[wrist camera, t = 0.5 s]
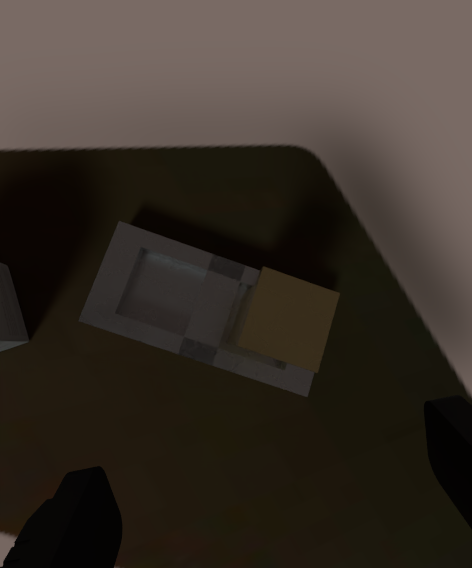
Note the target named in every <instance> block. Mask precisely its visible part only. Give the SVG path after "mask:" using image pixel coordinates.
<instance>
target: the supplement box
mask: <svg viewBox="0 0 472 568" xmlns="http://www.w3.org/2000/svg"><path fill="white" fill-rule="evenodd" d="M27 342H29V338H28V334H27V331H26V327H25V323H24V320H23V317H22V313H21V309H20V306H19V302H18V299H17V295H16V292H15V288H14V285H13V281H12V277H11V274H10V271H9V268H8V266H7V265H5V264H3V263H0V351H3V350H6V349H9V348H12V347H15V346H18V345H21V344H24V343H27Z"/></svg>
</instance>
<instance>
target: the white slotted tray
mask: <svg viewBox="0 0 472 568" xmlns="http://www.w3.org/2000/svg"><path fill="white" fill-rule="evenodd" d="M259 271H260V270H257V269H254V268H251V267H248V266H246V265H243V264H240V263H237V262H234V261H231V260H229V259H226V258H223V257H220V256H217V255H214V254H212V253H209V252H206V251H203V250H200V249H197V248H195V247H192V246H189V245H186V244H183V243H180V242H177V241H175V240H172V239H169V238H166V237H163V236H160V235H158V234H155V233H152V232H149V231H146V230H143V229H141V228H138V227H135V226H132V225H129V224H126V223H124V222H121V221H119V223H118V225H117V227H116V230H115V232H114V235H113V237H112V240H111V242H110V245H109V247H108V250H107V252H106V254H105V257H104V259H103V262H102V264H101V267H100V269H99V272H98V274H97V276H96V279H95V281H94V284H93V286H92V289H91V291H90V294H89V296H88V298H87V301H86V303H85V306H84V308H83V311H82V313H81V316H80V318H79V321H80V322H83V323H86V324H89V325H92V326H95V327H98V328H101V329H104V330H107V331H110V332H113V333H116V334H119V335H122V336H125V337H128V338H131V339H134V340H137V341H140V342H143V343H146V344H149V345H152V346H155V347H158V348H161V349H164V350H167V351H171V352H174V353H177V354H180V355H183V356H186V357H189V358H192V359H195V360H198V361H201V362H204V363H207V364H210V365H213V366H216V367H219V368H222V369H225V370H228V371H231V372H234V373H237V374H240V375H243V376H246V377H249V378H252V379H255V380H258V381H261V382H264V383H267V384H270V385H273V386H276V387H279V388H282V389H285V390H288V391H291V392H294V393H297V394H300V395H303V396H306V397H308V393H309V389H310V386H311V382H312V379H313V375H314V372H312V371H309V370H306V369H303V368H300V367H297V366H294V365H291V364H288V363H285V362H282V361H279V360H276V359H273V358H270V357H267V356H264V355H261V354H258V353H255V352H252V351H250V350H247V349H244V348H241V347H238V346H235V345H233V344H231V343H228V342H227V341H228V338H229V335H230V332H231V329H232V326H233V323H234V320H235V317H236V314H237V311H238V308H239V305H240V302H241V299H242V296H243V294H245V293H246V292H247V291H248V290H249V289H250V288H251V287H252V286H253V285H255V284H256V281H257V277H258V274H259Z"/></svg>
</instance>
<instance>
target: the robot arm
mask: <svg viewBox="0 0 472 568" xmlns="http://www.w3.org/2000/svg"><path fill="white" fill-rule="evenodd" d="M424 416H425V427H426V438H427V449H428V457H429V461H430V464H431V467H432V470H433V472H434V474H435V476H436V478H437V480H438V482H439V483H440V485H441V486H442V488H443V489H444V490H445V492H446V493H447V495H448V496H449V497H450V499H451V500H452V502H453V503H454V505H455V506H456V507H457V509H458V510H459V512H460V513H461V515H462V516H463V517H464V519H465V520H466V522H467V523H468V525H469V526H470V527H471V529H472V406H471V405H470V404H469V403H468V402H467V401H466V400H465V399H464V398H463V397H461V396H459V395H455V396H450V397H445V398H440V399H435V400H430V401H426V402H425V404H424ZM121 539H122V518H121V514H120V511H119V508H118V506H117V503H116V500H115V498H114V495H113V492H112V490H111V487H110V484H109V482H108V479H107V476H106V474H105V471H104V470H103V468H102V467H100V466H97V467H92V468H87V469H82V470H77V471H73V472H69V473H67V474H66V475H65V477H64V478H63V480H62V482H61V484H60V486H59V488H58V490H57V491H56V493H55V495H54V497H53V498H52V499H47V500H46V501H45V502H44V503H43V504H42V505H41V506H40V507H39V508H38V509H37V510H36V512H35V513H34V514H33V515H32V516H31V517H30V518H29V519H28V520H27V522H26V523H25V525H24V527H23V529H22V530H21V532H20V534H19V536H18V537H17V539H16V541H15V542H14V543H15V545H14V547H12V548H11V549H10V551H9V553H8V555H7V556H6V558H5V560H4V562H3V567H0V568H114V565H115V562H116V558H117V555H118V551H119V548H120V544H121Z"/></svg>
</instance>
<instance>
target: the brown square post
mask: <svg viewBox="0 0 472 568" xmlns="http://www.w3.org/2000/svg"><path fill="white" fill-rule="evenodd" d="M339 295H340V293H338V292H335V291H332V290H329V289H326V288H323V287H321V286H318V285H315V284H312V283H309V282H306V281H304V280H301V279H298V278H295V277H292V276H289V275H287V274H284V273H281V272H278V271H275V270H272V269H270V268H267V267H264V266H263V267H262V268H261V269H260V271H259V274H258V277H257V281H256V284H255V285H253V286H252V287H251V288H250V289H249V290H248V291H247V292H246V293H245V294H243V296H242V299H241V302H240V305H239V308H238V311H237V314H236V317H235V320H234V323H233V326H232V329H231V332H230V335H229V338H228V341H227V342H228V343H231V344H233V345H235V346H238V347H241V348H244V349H247V350H250V351H252V352H255V353H258V354H261V355H264V356H267V357H270V358H273V359H276V360H279V361H282V362H285V363H288V364H291V365H294V366H297V367H300V368H303V369H306V370H309V371H312V372H316V373H318V370H319V366H320V362H321V359H322V355H323V352H324V348H325V345H326V341H327V337H328V334H329V330H330V327H331V323H332V320H333V316H334V312H335V309H336V305H337V302H338V298H339Z"/></svg>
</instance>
